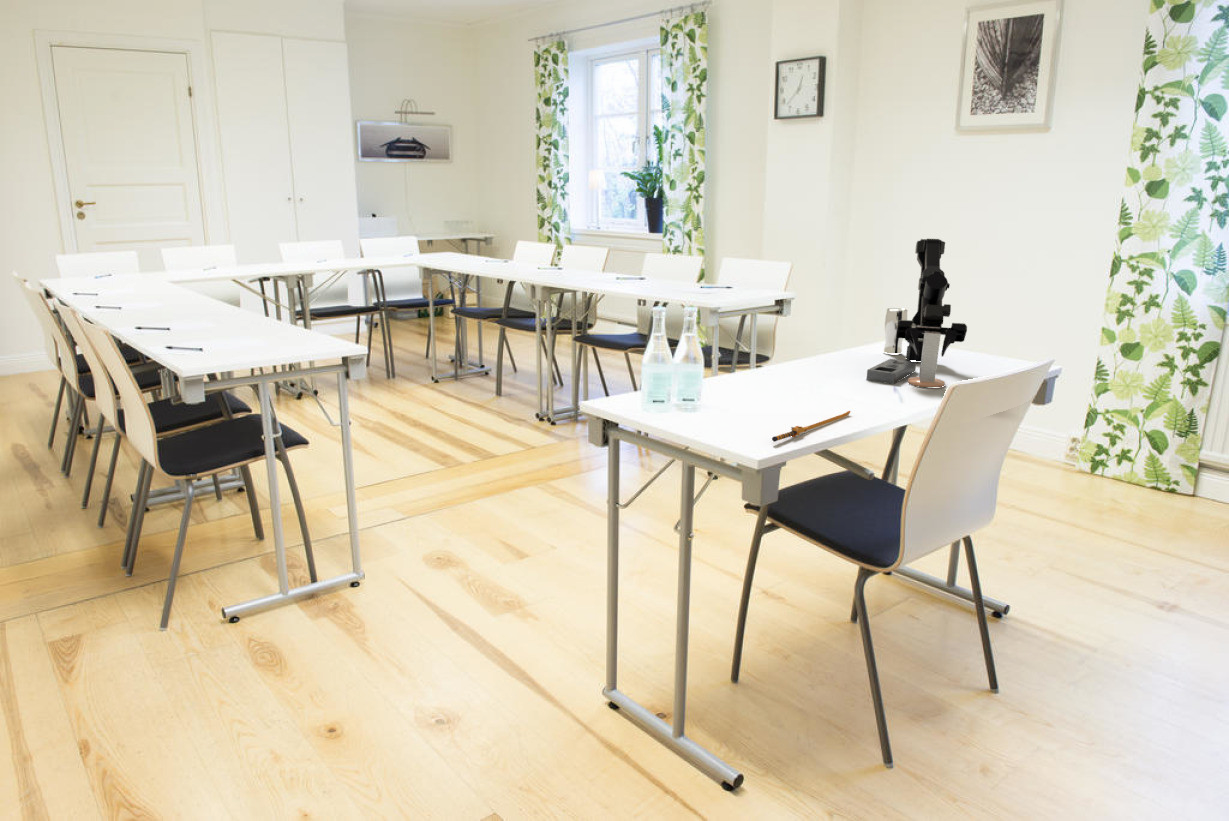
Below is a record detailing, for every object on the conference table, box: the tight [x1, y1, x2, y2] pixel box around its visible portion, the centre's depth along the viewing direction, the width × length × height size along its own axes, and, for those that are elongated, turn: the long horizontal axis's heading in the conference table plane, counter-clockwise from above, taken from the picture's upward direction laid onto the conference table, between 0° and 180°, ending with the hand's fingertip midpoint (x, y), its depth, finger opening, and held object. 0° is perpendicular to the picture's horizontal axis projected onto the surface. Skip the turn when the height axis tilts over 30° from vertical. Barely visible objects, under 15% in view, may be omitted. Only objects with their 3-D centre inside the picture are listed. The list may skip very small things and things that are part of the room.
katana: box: [771, 410, 851, 443], centre depth 200 cm, size 1×35×3 cm, turn 138°
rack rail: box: [866, 358, 917, 384], centre depth 256 cm, size 20×8×3 cm, turn 145°
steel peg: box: [918, 331, 942, 383], centre depth 244 cm, size 4×4×14 cm
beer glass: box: [883, 307, 908, 353], centre depth 287 cm, size 7×7×15 cm
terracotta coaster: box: [907, 376, 946, 388], centre depth 246 cm, size 10×10×1 cm
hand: (930, 354), depth 242 cm, fingers open, 6 cm apart
